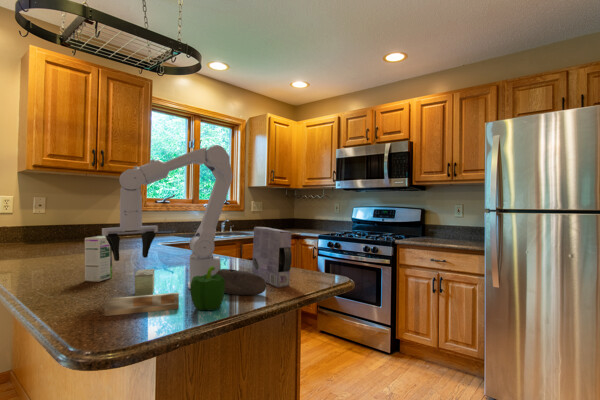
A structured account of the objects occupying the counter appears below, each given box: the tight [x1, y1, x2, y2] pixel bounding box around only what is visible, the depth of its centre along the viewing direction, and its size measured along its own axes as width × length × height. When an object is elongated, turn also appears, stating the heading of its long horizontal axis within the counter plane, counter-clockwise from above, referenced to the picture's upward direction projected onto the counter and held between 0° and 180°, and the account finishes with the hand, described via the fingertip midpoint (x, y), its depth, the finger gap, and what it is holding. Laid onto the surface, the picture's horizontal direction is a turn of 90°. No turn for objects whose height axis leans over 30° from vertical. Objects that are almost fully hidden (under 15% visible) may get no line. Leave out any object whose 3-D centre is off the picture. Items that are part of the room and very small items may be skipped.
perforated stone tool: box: [216, 268, 267, 296], centre depth 96 cm, size 15×5×7 cm, turn 75°
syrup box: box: [84, 235, 113, 283], centre depth 113 cm, size 6×6×14 cm
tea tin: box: [134, 268, 155, 296], centre depth 97 cm, size 8×5×6 cm, turn 20°
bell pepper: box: [190, 266, 225, 311], centre depth 83 cm, size 8×8×10 cm
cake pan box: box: [251, 226, 293, 289], centre depth 112 cm, size 19×5×18 cm, turn 34°
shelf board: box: [104, 292, 180, 317], centre depth 85 cm, size 16×11×4 cm
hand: (131, 258), depth 97 cm, fingers open, 7 cm apart
